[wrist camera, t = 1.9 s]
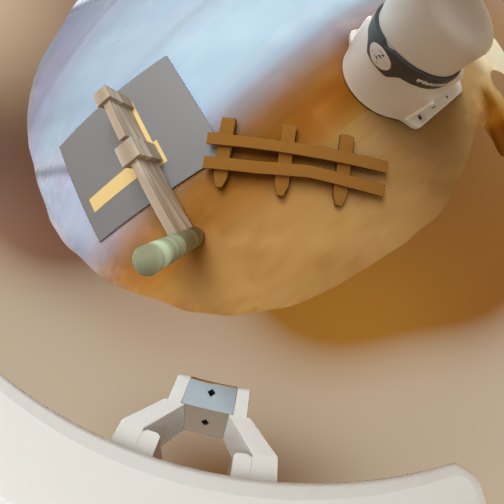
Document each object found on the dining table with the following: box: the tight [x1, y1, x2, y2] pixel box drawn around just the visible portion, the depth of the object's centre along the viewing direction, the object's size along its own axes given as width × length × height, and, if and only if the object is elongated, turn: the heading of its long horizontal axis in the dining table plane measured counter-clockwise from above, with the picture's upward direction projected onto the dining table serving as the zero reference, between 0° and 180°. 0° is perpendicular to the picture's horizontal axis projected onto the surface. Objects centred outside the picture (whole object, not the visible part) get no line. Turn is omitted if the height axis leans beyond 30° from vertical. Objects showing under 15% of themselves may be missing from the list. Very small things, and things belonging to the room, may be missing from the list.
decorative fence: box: [203, 118, 388, 206], centre depth 36 cm, size 25×2×10 cm
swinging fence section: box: [114, 136, 204, 276], centre depth 31 cm, size 3×17×15 cm, turn 29°
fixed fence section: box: [93, 85, 147, 142], centre depth 34 cm, size 2×9×8 cm, turn 30°
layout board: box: [60, 56, 218, 242], centre depth 39 cm, size 26×21×1 cm
